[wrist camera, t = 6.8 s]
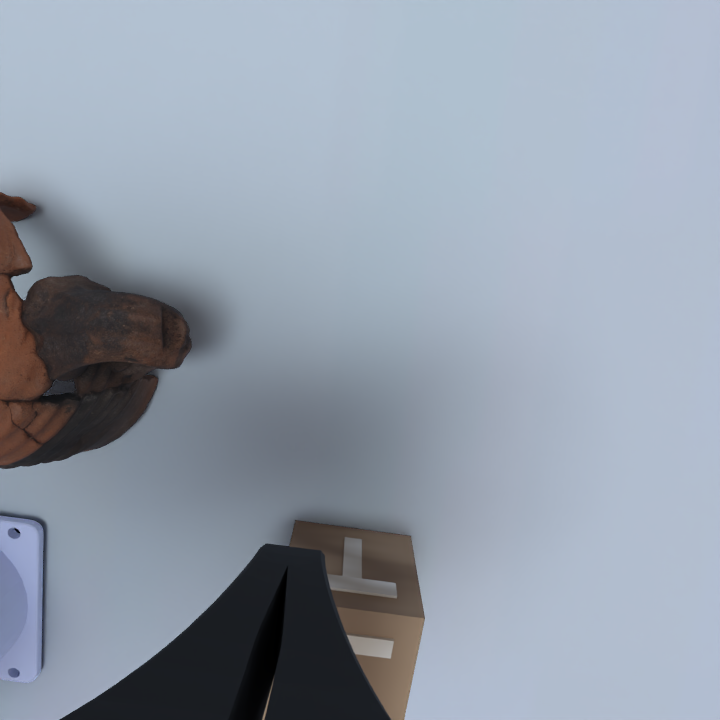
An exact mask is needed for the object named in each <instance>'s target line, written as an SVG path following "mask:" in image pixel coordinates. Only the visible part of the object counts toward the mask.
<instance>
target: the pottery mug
mask: <svg viewBox="0 0 720 720" xmlns="http://www.w3.org/2000/svg"><path fill="white" fill-rule="evenodd" d="M35 210H36V206H35V205H33V204H30V203H28V202H26V201H25V200H24V199H23V198H21V197H11V196H7V195H5V194H3V193H1V192H0V468H3V469H9V468H15V467H18V466H33V465H37V464H39V463H49V462H52V461H60V460H64V459H67V458H69V457H71V456H72V455H75V454H78V453H80V452H83V451H89V450H93V449H97V448H100V447H102V446H105V445H107V444H109V443H110V442H112V441H114V440H115V439H117V438H119V437H120V436H121V435H123V434H124V433H125V432H126V431H127V430H128V429H129V428H130V427H131V426H133V425H134V423H136V421H137V420H138V419H139V418H140V417H141V415H142V414H143V412H144V411H145V409H146V407H147V404H148V403H149V401H150V399H151V397H152V395H153V393H154V391H155V388H156V385H157V383H158V379H157V377H155V376H152V375H146V374H147V373H148V372H150V371H152V370H154V369H158V368H159V369H175V368H178V367H180V365H181V364H182V362H183V360H184V358H185V357H186V355H187V354H188V353H189V351H190V349H191V347H192V341H191V338H190V336H189V331H190V330H189V327H188V325H187V322H186V321H185V320H184V318H183V316H182V314H181V313H180V312H179V311H178V310H176V309H175V308H173V307H171V306H169V305H167V304H165V303H162V302H160V301H158V300H155V299H152V298H149V297H145V296H141V295H136V294H130V293H123V292H112V291H111V290H110V289H109V288H107V287H105V286H103V285H100V284H98V283H95V282H92V281H91V280H89V279H88V278H86V277H83V276H79V275H73V276H64V277H47V278H44V279H41V280H39V281H37V282H35V283H34V284H33V285H32V287H31V288H30V289H29V291H28V294H27V297H26V300H22V299H21V298H20V297H19V295H18V294H17V292H15V289H14V286H13V283H12V281H11V278H12V277H13V276H19V275H22V274H26V273H29V272H30V271H31V270H32V267H33V266H32V262H31V259H30V257H29V255H28V254H27V252H26V250H25V247H24V246H23V244H22V242H21V240H20V239H19V237H18V233H17V231H16V229H15V226H14V225H13V224H12V222H14V221H19V220H22V219H24V218H27V217H28V216H29V215H31V214H33V213H34V212H35ZM56 379H57V380H60V381H68V380H72V379H73V380H74V382H75V388H76V391H75V392H73V393H65V394H60V395H51V396H42V395H43V394H44V393H45V392H46V391H48V390H49V389H50V388H51V386H52V383H53V381H54V380H56Z"/></svg>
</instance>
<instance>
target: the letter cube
mask: <svg viewBox="0 0 720 720" xmlns="http://www.w3.org/2000/svg"><path fill="white" fill-rule="evenodd" d="M289 546H290V547H298V548H306V549H314V550H321V551H322V552H323V554H324V555H325V564H326V571H327V576H328V580H329V584H330V588H331V592H332V595H333V599H334V602H335V605H336V608H337V611H338V613H339V616H340V619H341V622H342V625H343V627H344V630H345V632H346V635H347V637H348V639H349V642H350V644H351V646H352V649H353V651H354V653H355V655H356V657H357V659H358V662H359V664H360V666H361V668H362V670H363V672H364V673H365V675H366V677H367V679H368V681H369V683H370V685H371V686H372V688H373V690H374V692H375V694H376V695H377V697H378V699H379V700H380V702H381V704H382V705H383V707H384V709H385V710H386V712H387V714H388V715H389V717H390V718H391V720H404V717H405V712H406V708H407V703H408V698H409V693H410V688H411V683H412V678H413V674H414V669H415V664H416V659H417V654H418V649H419V644H420V640H421V635H422V630H423V625H424V620H425V616H424V611H423V605H422V599H421V593H420V587H419V581H418V576H417V570H416V564H415V558H414V552H413V547H412V541H411V536H407V535H400V534H392V533H385V532H378V531H371V530H363V529H356V528H349V527H341V526H334V525H327V524H319V523H312V522H305V521H297V520H295V524H294V528H293V533H292V537H291V541H290V545H289ZM273 681H274V680H273ZM272 685H273V683H272ZM271 689H272V687H271ZM270 694H271V690H270ZM270 694H269V697H268V701H267V705H266V708H265V712H264V715H263V719H262V720H265V715H266V711H267V707H268V702H269V698H270Z"/></svg>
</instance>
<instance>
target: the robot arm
mask: <svg viewBox="0 0 720 720" xmlns="http://www.w3.org/2000/svg"><path fill="white" fill-rule="evenodd" d="M14 528H16V529H18V530H19V531H20V534H19V533H17V532H16V531H15V529H14ZM42 591H43V528H42V526H41V525H40V524H39V523H38V522H36V521H34V520H29V519H22V518H14V517H7V516H0V679H1V680H9V681H16V682H24V683H28V682H32V681H34V680H35V679H36V678H37V676H38V675H39V674H40V672H41V654H42ZM17 669H18V670H17ZM273 680H274V681H273ZM272 683H273V685H272ZM271 687H272V689H271ZM270 690H271V694H270ZM269 694H270V698H269V702H268V707H267V711H266V715H265V720H391V718H390V717H389V715H388V714H387V712H386V710H385V709H384V707H383V705H382V704H381V702H380V700H379V699H378V697H377V695H376V694H375V692H374V690H373V688H372V686H371V685H370V683H369V681H368V679H367V677H366V675H365V673H364V672H363V670H362V668H361V666H360V664H359V662H358V659H357V657H356V655H355V653H354V651H353V649H352V646H351V644H350V642H349V639H348V637H347V635H346V632H345V630H344V627H343V625H342V622H341V619H340V616H339V613H338V611H337V608H336V605H335V602H334V599H333V595H332V592H331V588H330V584H329V580H328V576H327V571H326V564H325V555H324V554H323V552H322V551H321V550H314V549H306V548H298V547H290V546H282V545H273V544H265V545H263V546H262V547H261V548H260V549H259V550H258V552H257V553H256V555H255V556H254V557H253V559H252V560H251V561H250V562H249V564H248V565H247V566H246V567H245V569H244V570H243V571H242V572H241V573H240V574H239V576H238V577H237V578H236V579H235V580H234V581H233V582H232V584H231V585H230V586H229V587H228V588H227V589H226V590H225V591H224V592H223V593H222V594H221V595H220V597H219V598H218V599H217V600H216V601H215V602H214V603H213V604H212V605H211V606H210V607H209V608H208V609H207V610H206V611H205V612H204V613H202V614H201V615H200V616H199V617H198V618H197V619H196V620H195V621H194V622H193V623H192V624H191V625H190V626H189V627H188V628H187V629H186V630H185V631H183V632H182V633H181V634H180V635H179V636H178V637H177V638H175V639H174V640H173V641H172V642H171V643H169V644H168V645H167V646H166V647H165V648H163V649H162V650H161V651H160V652H158V653H157V654H156V655H155V656H153V657H152V658H151V659H150V660H148V661H147V662H146V663H145V664H143V665H142V666H140V667H139V668H138V669H136V670H135V671H133V672H132V673H131V674H129V675H128V676H127V677H125V678H124V679H122V680H121V681H120V682H118V683H117V684H116V685H114V686H113V687H111V688H110V689H108V690H107V691H105V692H104V693H102V694H101V695H99V696H98V697H96V698H95V699H93V700H91V701H90V702H88V703H86V704H85V705H83V706H82V707H80V708H78V709H77V710H75V711H73V712H72V713H70V714H68V715H67V716H65V717H63V718H61V719H60V720H262V719H263V715H264V712H265V708H266V705H267V701H268V697H269Z"/></svg>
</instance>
